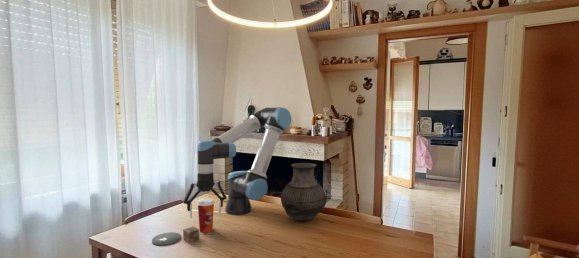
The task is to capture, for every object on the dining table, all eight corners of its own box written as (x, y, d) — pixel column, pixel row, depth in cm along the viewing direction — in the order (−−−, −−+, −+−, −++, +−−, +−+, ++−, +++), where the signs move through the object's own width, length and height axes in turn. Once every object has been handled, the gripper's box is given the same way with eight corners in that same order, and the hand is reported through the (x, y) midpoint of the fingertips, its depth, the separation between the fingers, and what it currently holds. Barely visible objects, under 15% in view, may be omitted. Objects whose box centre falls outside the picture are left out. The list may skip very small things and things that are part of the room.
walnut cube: (193, 236, 135) (193, 226, 134) (199, 240, 131) (198, 229, 131) (183, 240, 131) (183, 229, 131) (188, 243, 128) (188, 232, 127)
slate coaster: (179, 232, 139) (179, 230, 139) (182, 242, 128) (182, 240, 128) (151, 236, 134) (151, 235, 134) (152, 247, 123) (152, 246, 123)
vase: (320, 231, 141) (321, 170, 140) (273, 224, 149) (273, 167, 147) (329, 214, 165) (330, 162, 163) (288, 209, 173) (289, 159, 171)
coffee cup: (210, 234, 137) (209, 203, 136) (194, 233, 138) (193, 202, 137) (217, 227, 145) (217, 198, 144) (202, 226, 147) (202, 197, 146)
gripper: (229, 169, 149) (228, 209, 150) (177, 172, 138) (177, 216, 139) (233, 171, 142) (232, 214, 143) (178, 175, 131) (178, 221, 132)
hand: (205, 215), depth 141 cm, fingers open, 13 cm apart
